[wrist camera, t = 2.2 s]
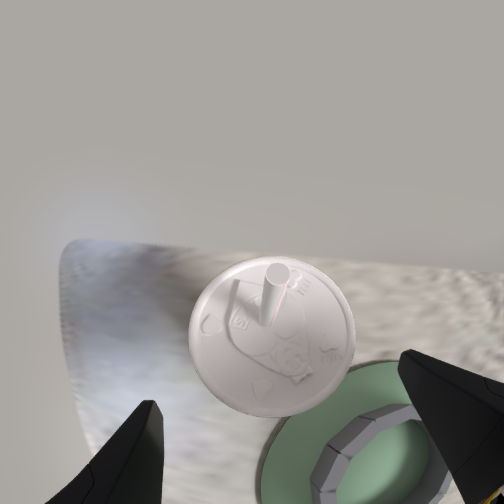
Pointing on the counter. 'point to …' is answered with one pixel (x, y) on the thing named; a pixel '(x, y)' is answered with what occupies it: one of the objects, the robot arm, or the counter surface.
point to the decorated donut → (487, 502)
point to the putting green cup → (357, 448)
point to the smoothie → (271, 336)
